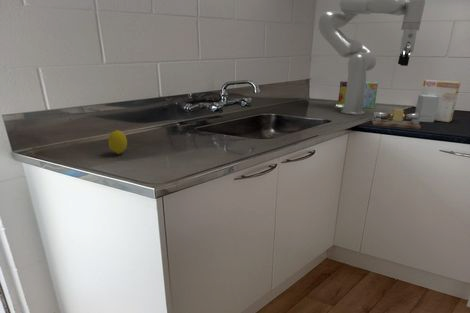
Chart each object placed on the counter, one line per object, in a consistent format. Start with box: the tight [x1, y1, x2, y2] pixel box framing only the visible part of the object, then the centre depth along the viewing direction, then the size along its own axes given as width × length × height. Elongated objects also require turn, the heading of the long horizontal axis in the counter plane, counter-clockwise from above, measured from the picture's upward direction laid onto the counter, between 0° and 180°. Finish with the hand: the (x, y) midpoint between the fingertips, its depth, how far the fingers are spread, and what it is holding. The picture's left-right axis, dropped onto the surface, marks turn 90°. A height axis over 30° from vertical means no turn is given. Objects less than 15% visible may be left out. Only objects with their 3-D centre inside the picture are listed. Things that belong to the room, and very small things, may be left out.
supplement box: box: [414, 94, 439, 123], centre depth 170 cm, size 7×7×13 cm
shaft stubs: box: [372, 111, 421, 125], centre depth 160 cm, size 20×8×6 cm, turn 74°
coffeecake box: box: [420, 78, 461, 123], centre depth 172 cm, size 15×7×20 cm, turn 48°
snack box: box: [337, 80, 379, 109], centre depth 205 cm, size 21×6×15 cm, turn 66°
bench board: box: [370, 118, 422, 130], centre depth 160 cm, size 20×10×1 cm, turn 74°
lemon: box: [108, 129, 128, 155], centre depth 107 cm, size 6×6×8 cm
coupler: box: [388, 108, 406, 122], centre depth 159 cm, size 6×5×6 cm
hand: (402, 64), depth 163 cm, fingers open, 9 cm apart
